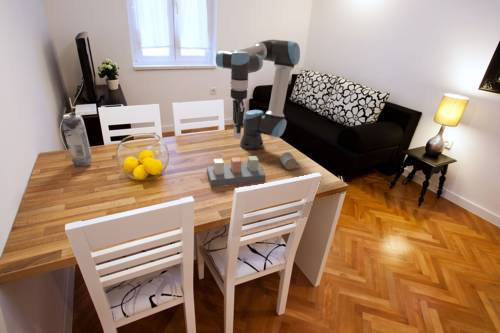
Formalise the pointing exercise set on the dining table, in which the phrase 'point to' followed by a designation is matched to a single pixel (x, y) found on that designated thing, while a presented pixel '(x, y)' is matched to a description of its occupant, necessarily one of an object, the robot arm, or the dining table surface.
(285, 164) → the ceramic mug
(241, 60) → the robot arm
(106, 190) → the dining table surface
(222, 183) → the console
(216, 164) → the key cream
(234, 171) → the key terracotta
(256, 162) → the key sage
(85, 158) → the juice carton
